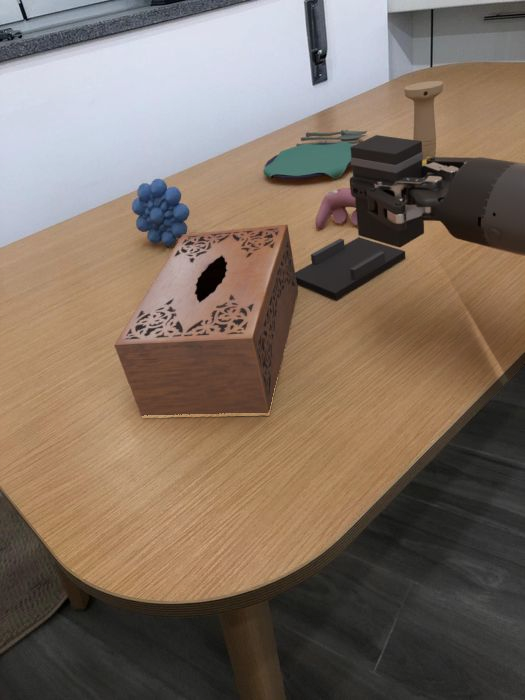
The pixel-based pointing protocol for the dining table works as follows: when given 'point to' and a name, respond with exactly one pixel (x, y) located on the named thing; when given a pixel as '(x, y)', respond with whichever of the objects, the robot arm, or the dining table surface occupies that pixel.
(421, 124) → the handle
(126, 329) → the tissue box cover
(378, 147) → the upright box
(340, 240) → the base pad
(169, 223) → the grapes
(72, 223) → the dining table surface
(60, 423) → the dining table surface
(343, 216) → the video game controller
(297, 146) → the cutlery set
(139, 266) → the dining table surface
